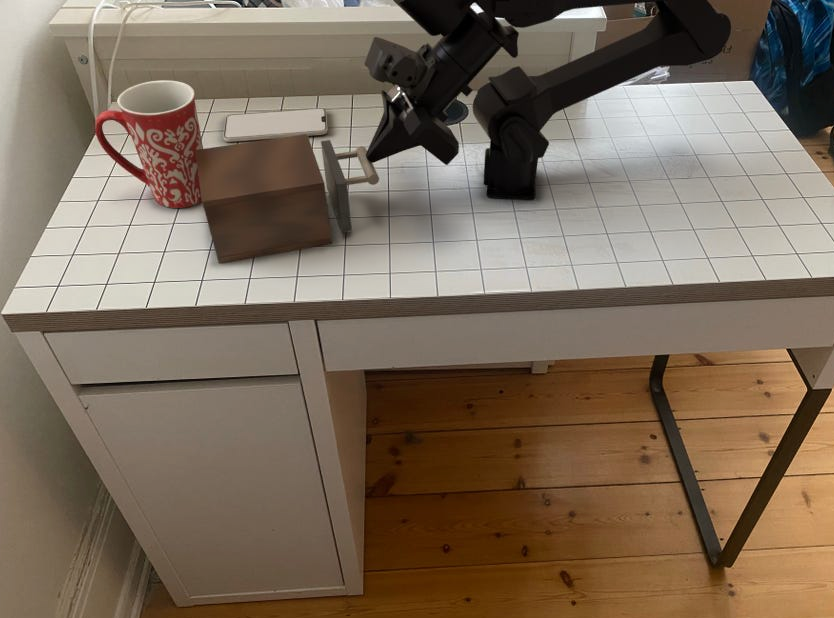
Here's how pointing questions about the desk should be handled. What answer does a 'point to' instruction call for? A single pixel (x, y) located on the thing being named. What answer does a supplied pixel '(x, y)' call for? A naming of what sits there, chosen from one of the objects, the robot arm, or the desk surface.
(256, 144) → the cabinet
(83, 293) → the desk surface
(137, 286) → the desk surface
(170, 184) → the mug
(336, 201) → the drawer
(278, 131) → the smartphone
